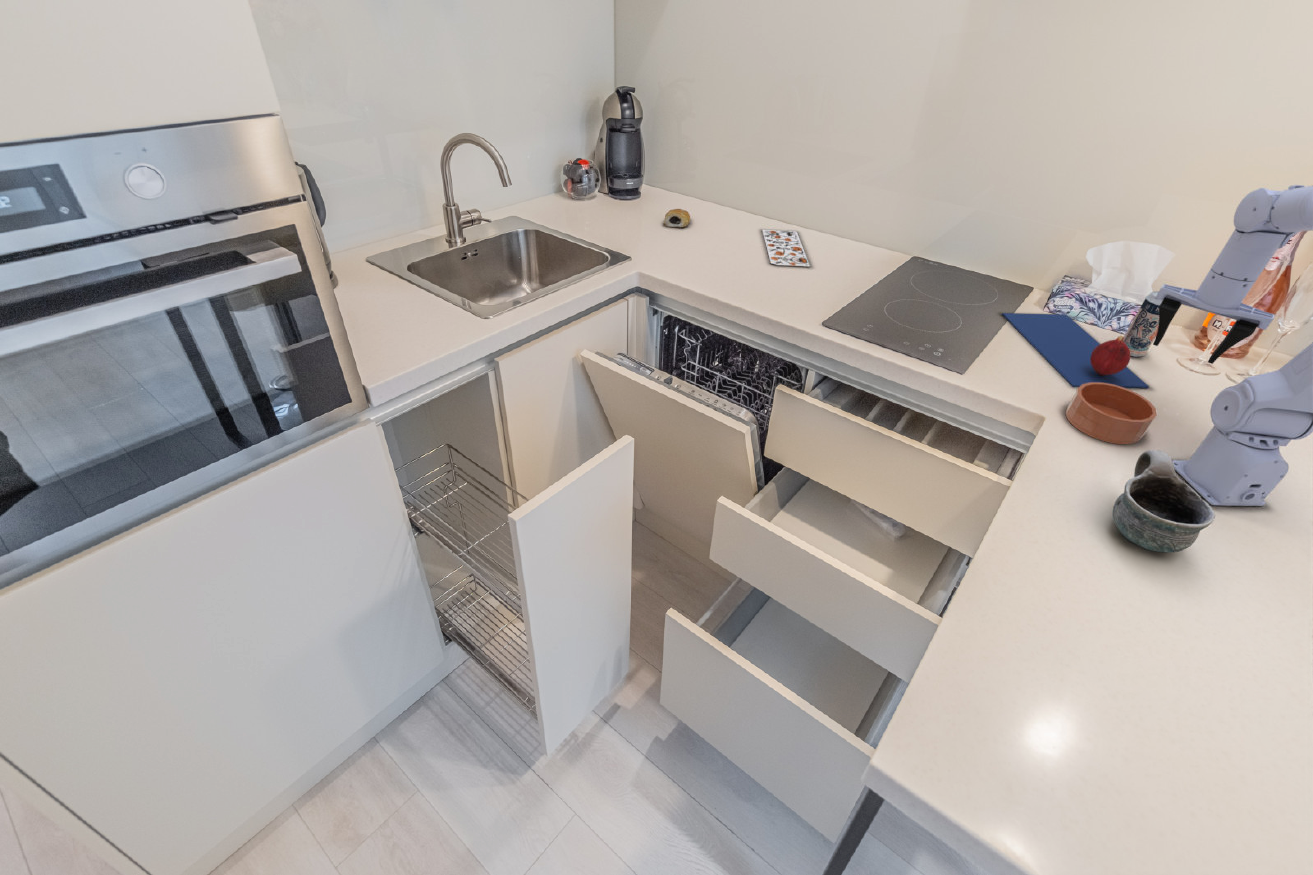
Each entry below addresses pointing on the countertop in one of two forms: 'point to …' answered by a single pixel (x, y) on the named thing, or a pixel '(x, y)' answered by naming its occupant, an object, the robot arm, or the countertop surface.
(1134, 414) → the bowl
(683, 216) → the pastry
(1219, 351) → the robot arm
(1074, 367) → the cloth
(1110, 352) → the onion
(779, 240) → the paper towel
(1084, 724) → the countertop surface
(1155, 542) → the mug
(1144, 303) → the beer can
